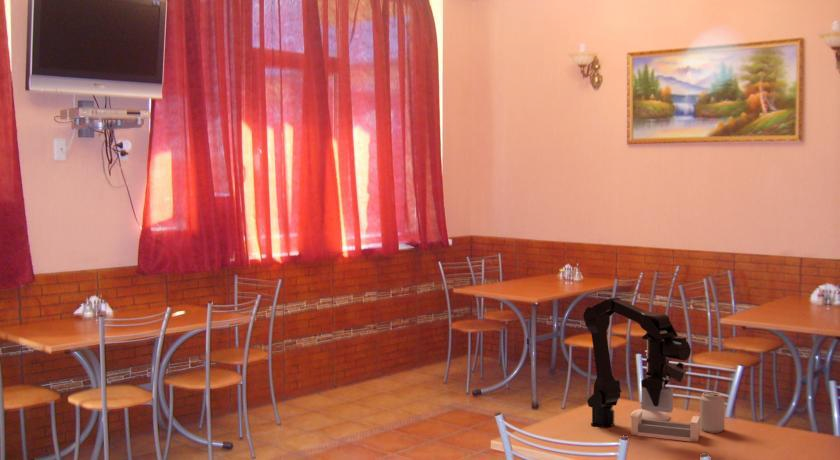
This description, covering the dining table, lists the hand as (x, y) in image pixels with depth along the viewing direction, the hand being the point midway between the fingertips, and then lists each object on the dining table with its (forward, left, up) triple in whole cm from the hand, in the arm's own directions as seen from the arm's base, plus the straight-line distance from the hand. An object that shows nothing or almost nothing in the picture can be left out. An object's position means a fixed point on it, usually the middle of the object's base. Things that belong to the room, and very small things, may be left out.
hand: (657, 404), depth 258 cm
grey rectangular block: (0, 0, -2) cm, 2 cm away
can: (+15, +18, -12) cm, 26 cm away
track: (+2, +7, -11) cm, 14 cm away
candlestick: (-6, +26, -12) cm, 29 cm away
